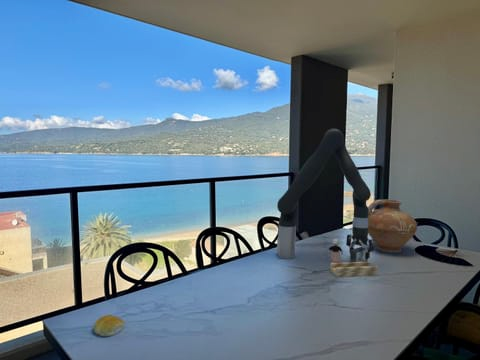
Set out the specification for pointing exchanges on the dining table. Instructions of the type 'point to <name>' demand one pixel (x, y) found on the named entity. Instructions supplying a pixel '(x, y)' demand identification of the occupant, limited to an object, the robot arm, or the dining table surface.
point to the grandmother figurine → (335, 251)
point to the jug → (390, 225)
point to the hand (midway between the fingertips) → (359, 256)
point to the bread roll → (108, 325)
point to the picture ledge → (353, 269)
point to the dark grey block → (358, 255)
